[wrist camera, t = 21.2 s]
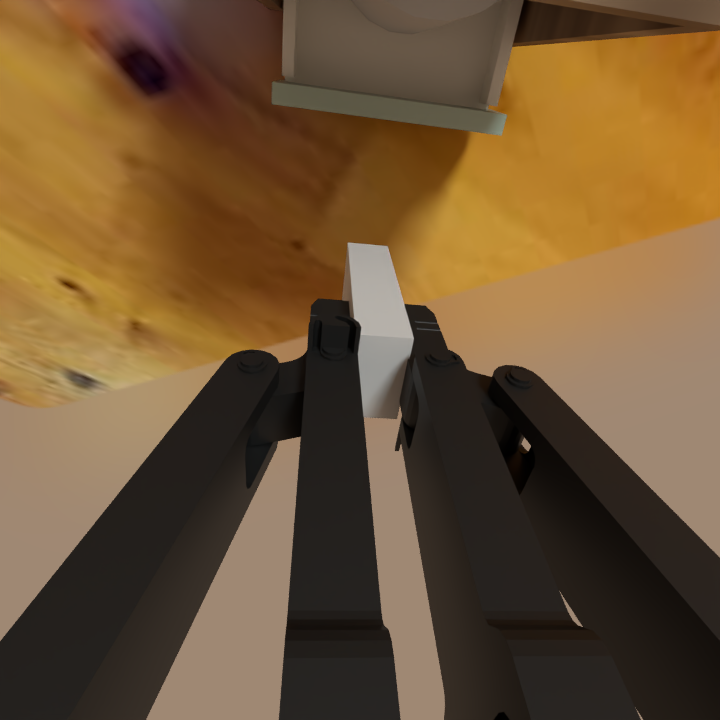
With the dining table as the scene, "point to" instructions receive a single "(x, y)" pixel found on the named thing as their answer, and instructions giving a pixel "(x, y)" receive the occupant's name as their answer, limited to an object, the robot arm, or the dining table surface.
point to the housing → (603, 19)
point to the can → (418, 13)
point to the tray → (396, 65)
